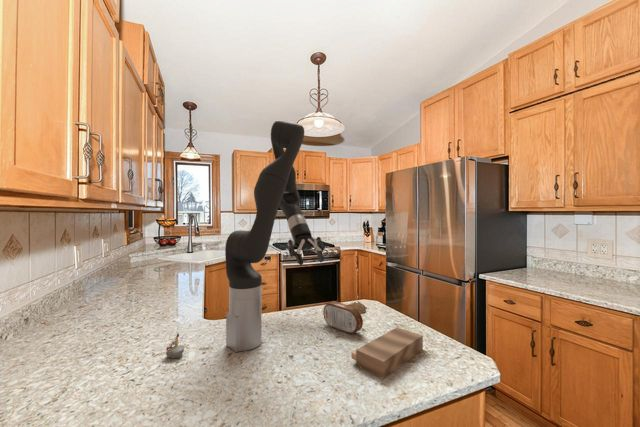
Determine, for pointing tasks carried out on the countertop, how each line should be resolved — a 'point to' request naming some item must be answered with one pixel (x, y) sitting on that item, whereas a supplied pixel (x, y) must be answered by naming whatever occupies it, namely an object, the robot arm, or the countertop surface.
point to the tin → (343, 317)
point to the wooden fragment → (358, 307)
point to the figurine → (174, 349)
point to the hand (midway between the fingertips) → (312, 262)
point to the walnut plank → (388, 352)
